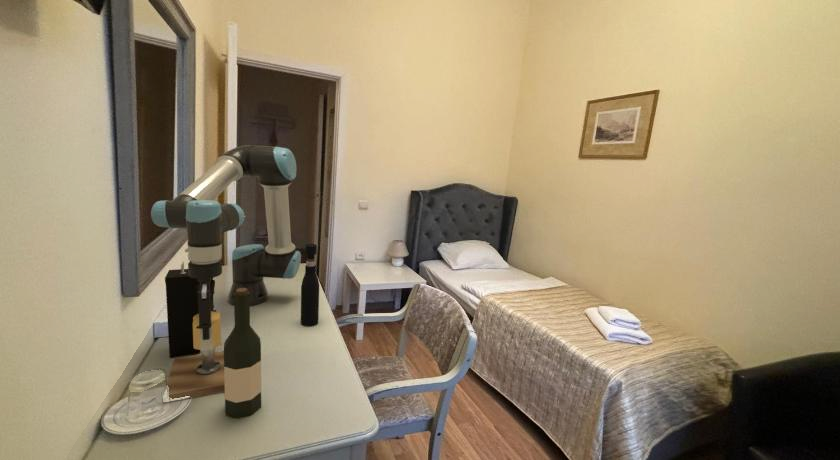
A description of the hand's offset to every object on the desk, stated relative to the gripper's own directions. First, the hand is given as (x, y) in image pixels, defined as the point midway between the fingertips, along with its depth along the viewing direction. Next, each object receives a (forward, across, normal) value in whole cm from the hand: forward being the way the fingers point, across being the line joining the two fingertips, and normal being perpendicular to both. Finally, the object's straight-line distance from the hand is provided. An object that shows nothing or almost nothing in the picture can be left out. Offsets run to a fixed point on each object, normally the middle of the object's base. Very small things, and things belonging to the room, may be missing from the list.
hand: (207, 343), depth 96 cm
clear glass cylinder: (+8, 0, 0) cm, 8 cm away
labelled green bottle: (+10, +17, +8) cm, 21 cm away
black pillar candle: (+10, -17, -7) cm, 21 cm away
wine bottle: (+10, -25, +31) cm, 41 cm away
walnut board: (+10, 0, 0) cm, 10 cm away
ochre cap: (0, 0, 0) cm, 0 cm away
